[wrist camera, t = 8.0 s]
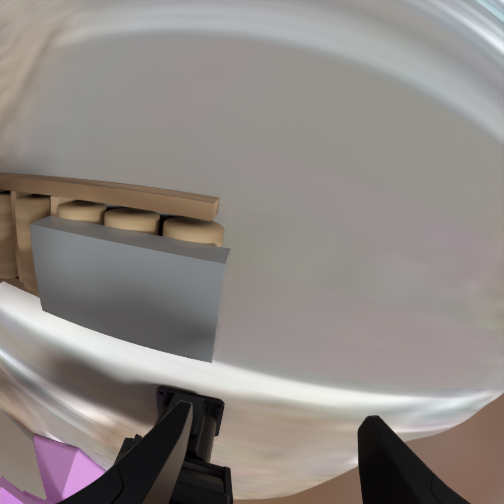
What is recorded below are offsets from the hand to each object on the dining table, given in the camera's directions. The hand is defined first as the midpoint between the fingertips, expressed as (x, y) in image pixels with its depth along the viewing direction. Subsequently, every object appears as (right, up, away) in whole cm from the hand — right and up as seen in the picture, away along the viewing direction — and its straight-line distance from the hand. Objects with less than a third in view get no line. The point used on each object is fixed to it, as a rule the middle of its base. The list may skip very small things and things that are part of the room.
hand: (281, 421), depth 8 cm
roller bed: (-14, +6, +10) cm, 19 cm away
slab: (-9, +4, +7) cm, 12 cm away
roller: (-18, +7, +9) cm, 21 cm away
